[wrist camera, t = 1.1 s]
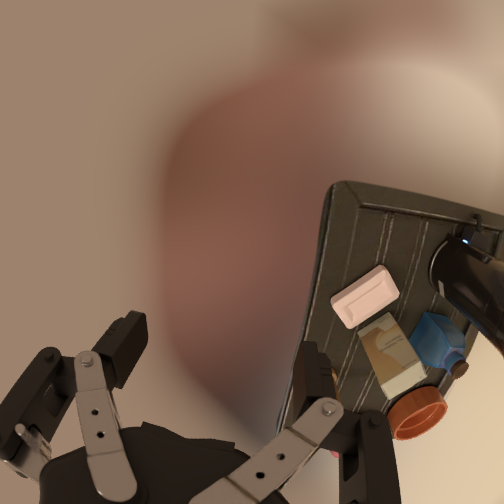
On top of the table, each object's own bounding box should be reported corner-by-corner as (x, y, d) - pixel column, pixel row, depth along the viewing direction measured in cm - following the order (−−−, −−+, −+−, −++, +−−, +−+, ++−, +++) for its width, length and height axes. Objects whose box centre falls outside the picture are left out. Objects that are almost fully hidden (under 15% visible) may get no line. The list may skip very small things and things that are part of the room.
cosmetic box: (388, 310, 39) (423, 358, 27) (397, 327, 40) (429, 375, 28) (354, 332, 40) (379, 386, 29) (364, 348, 41) (389, 401, 30)
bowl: (406, 384, 45) (417, 404, 39) (446, 382, 45) (457, 399, 40) (376, 423, 49) (382, 442, 43) (416, 419, 50) (424, 436, 44)
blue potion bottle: (407, 341, 41) (437, 386, 30) (424, 311, 39) (460, 353, 28) (430, 344, 41) (460, 386, 30) (446, 316, 39) (482, 355, 28)
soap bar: (328, 298, 38) (331, 306, 36) (380, 262, 36) (387, 268, 34) (345, 322, 39) (349, 331, 37) (395, 289, 37) (401, 296, 35)
